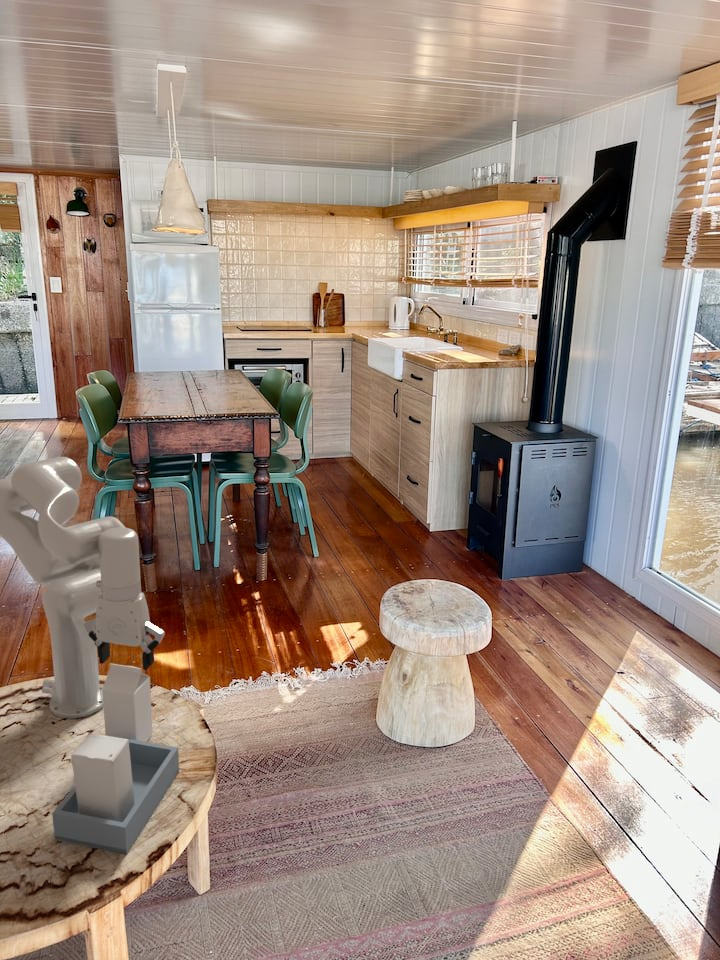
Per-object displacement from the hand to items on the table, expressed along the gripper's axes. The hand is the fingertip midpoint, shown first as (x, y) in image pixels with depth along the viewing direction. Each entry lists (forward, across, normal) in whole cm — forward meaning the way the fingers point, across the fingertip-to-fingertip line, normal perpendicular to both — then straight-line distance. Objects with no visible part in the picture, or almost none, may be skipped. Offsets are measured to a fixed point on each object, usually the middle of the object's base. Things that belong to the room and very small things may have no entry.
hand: (126, 663), depth 153 cm
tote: (+20, +6, -17) cm, 27 cm away
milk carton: (+20, -1, 0) cm, 20 cm away
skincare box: (+19, +6, -21) cm, 29 cm away
